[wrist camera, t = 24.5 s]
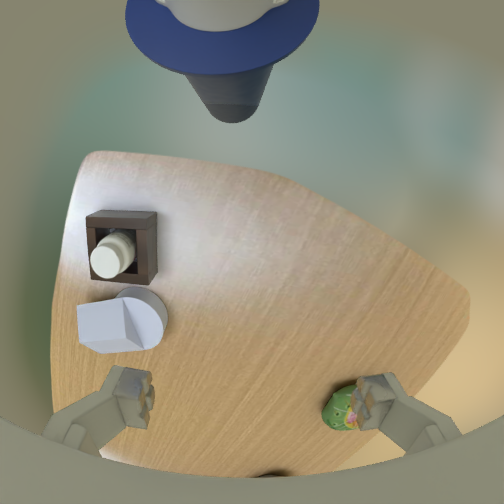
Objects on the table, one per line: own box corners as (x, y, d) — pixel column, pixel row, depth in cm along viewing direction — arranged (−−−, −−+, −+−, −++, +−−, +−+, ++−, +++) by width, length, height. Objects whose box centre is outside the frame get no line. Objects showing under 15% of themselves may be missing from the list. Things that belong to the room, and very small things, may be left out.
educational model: (377, 414, 52) (386, 432, 47) (311, 420, 51) (316, 440, 46) (400, 373, 48) (412, 390, 43) (328, 377, 47) (336, 398, 42)
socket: (100, 210, 36) (85, 216, 32) (156, 211, 37) (146, 218, 32) (104, 267, 39) (91, 279, 35) (157, 272, 39) (148, 285, 35)
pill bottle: (134, 263, 39) (111, 289, 31) (108, 244, 38) (81, 266, 30) (151, 238, 38) (129, 259, 30) (124, 217, 37) (96, 234, 29)
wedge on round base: (107, 342, 43) (175, 334, 43) (92, 366, 37) (167, 360, 36) (86, 295, 40) (156, 282, 40) (66, 316, 34) (143, 304, 33)
